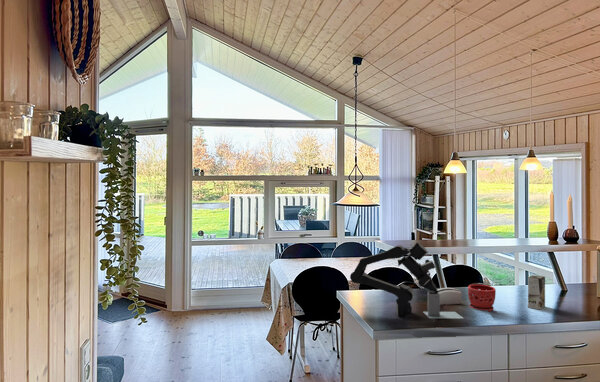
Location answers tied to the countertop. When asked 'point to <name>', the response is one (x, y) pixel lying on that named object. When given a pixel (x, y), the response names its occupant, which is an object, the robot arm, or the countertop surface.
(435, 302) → the steel sleeve
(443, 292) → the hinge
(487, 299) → the plant pot
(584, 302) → the countertop surface
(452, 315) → the base plate
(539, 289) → the coffee box
